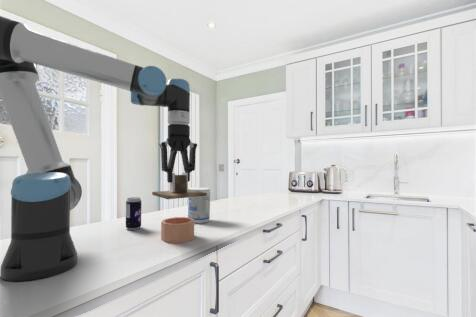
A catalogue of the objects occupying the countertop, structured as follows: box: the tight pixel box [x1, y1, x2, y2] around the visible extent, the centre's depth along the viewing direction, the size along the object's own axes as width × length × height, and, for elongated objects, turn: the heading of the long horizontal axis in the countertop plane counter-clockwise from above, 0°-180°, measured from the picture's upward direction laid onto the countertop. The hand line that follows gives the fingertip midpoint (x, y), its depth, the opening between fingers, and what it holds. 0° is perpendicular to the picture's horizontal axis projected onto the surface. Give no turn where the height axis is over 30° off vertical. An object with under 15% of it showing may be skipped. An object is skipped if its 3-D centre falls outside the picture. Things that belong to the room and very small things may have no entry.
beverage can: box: [125, 196, 142, 231], centre depth 103 cm, size 6×6×12 cm
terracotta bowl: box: [160, 216, 195, 244], centre depth 91 cm, size 11×11×6 cm
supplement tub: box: [187, 186, 211, 224], centre depth 116 cm, size 10×10×15 cm
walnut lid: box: [151, 174, 207, 200], centre depth 91 cm, size 14×14×7 cm
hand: (178, 191), depth 91 cm, fingers closed on walnut lid, 4 cm apart
